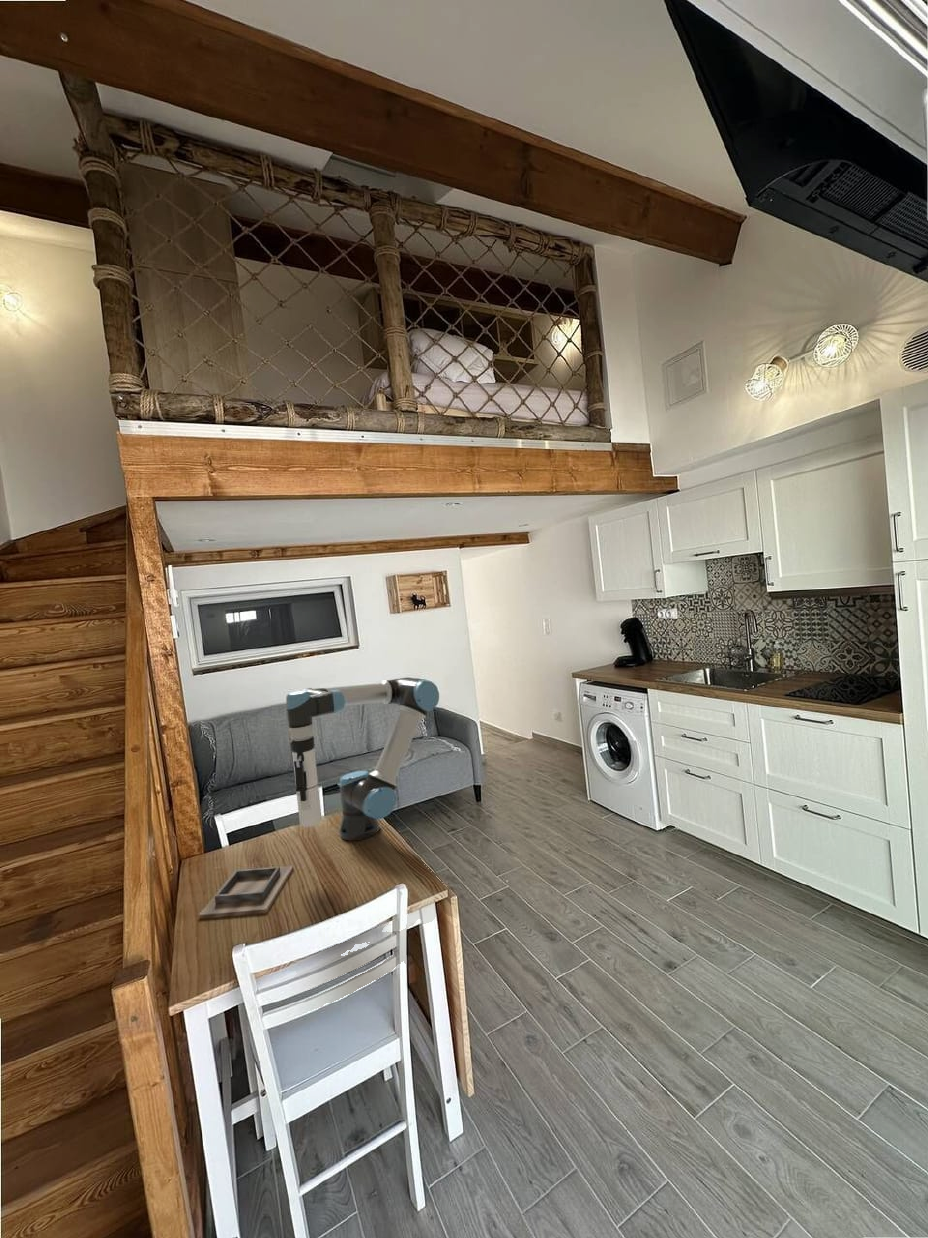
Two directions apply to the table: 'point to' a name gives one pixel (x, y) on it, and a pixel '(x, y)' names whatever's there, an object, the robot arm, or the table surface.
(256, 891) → the board
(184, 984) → the table surface
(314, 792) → the cylindrical container
